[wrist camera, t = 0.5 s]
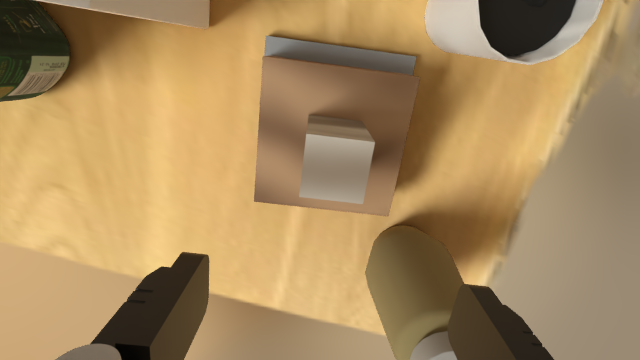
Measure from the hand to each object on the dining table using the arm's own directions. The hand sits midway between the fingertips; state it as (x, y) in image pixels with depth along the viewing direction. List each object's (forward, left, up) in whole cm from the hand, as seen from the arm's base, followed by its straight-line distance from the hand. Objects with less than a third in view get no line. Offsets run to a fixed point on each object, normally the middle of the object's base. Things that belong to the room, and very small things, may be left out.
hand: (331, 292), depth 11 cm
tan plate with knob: (-1, +1, -20) cm, 20 cm away
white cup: (-11, +10, -21) cm, 25 cm away
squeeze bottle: (+11, +9, -21) cm, 25 cm away
